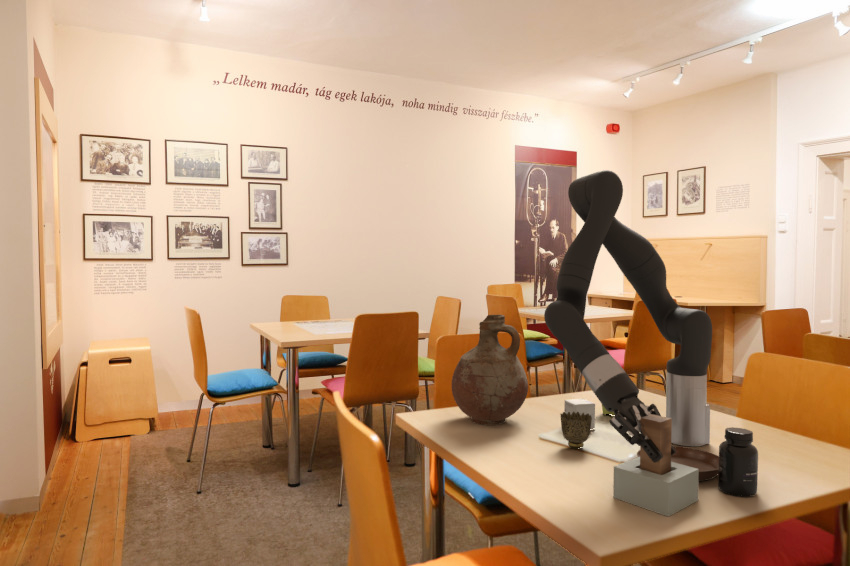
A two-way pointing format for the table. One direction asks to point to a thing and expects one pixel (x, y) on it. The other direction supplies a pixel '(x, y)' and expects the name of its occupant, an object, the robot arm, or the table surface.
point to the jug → (490, 376)
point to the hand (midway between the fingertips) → (665, 457)
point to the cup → (576, 428)
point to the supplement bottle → (738, 463)
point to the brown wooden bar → (657, 443)
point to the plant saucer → (696, 461)
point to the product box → (581, 408)
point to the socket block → (656, 487)
